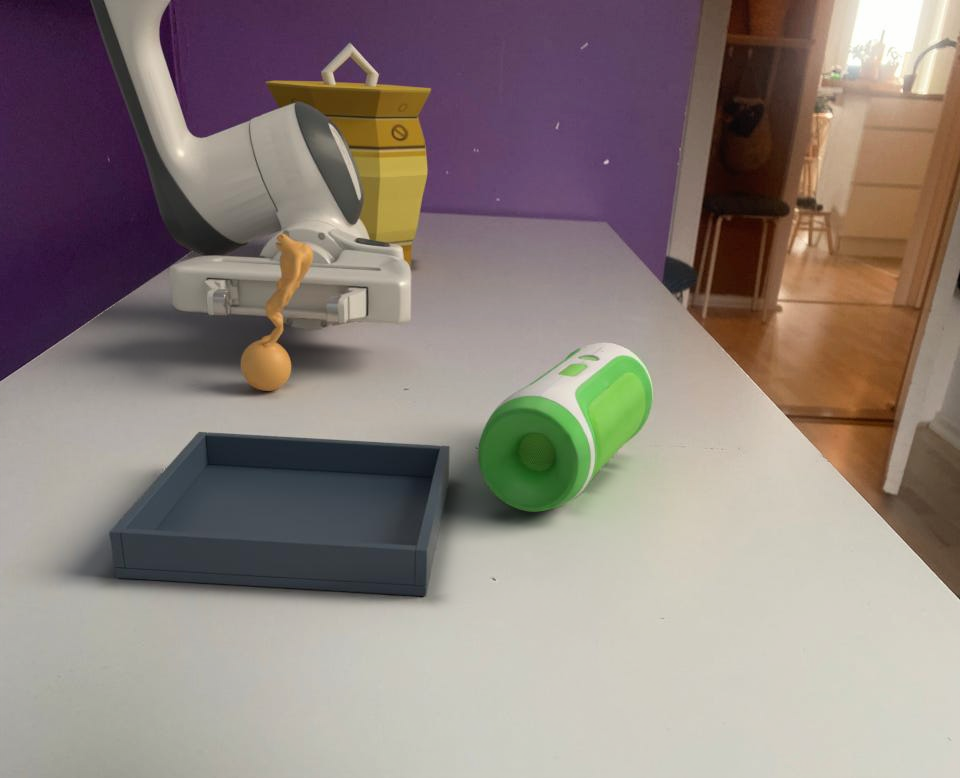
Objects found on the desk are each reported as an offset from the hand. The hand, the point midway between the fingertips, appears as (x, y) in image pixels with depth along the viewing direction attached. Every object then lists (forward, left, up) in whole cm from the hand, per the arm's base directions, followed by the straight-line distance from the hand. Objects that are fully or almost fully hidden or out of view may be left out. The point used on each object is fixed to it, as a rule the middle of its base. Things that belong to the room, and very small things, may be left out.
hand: (275, 308), depth 82 cm
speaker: (+23, -16, -7) cm, 29 cm away
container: (-3, +59, -7) cm, 59 cm away
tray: (+7, -27, -6) cm, 29 cm away
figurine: (0, 0, -7) cm, 7 cm away
